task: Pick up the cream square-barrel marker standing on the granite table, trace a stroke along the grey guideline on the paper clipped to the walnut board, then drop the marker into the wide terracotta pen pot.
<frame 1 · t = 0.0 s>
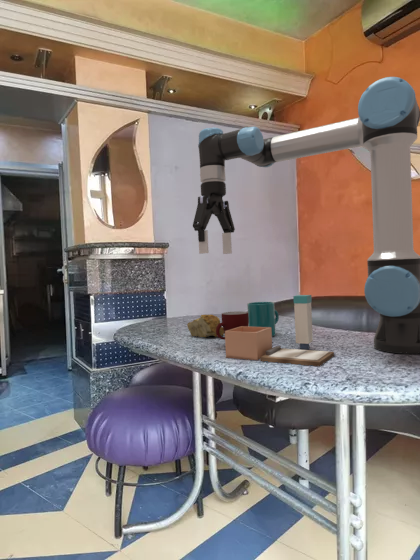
hand: (216, 253, 123), 28 cm above the table, fingers open, 13 cm apart
mug: (233, 347, 122), on the table
marker: (304, 349, 113), on the table
cup: (265, 336, 139), on the table
pen pot: (249, 355, 109), on the table
clipboard: (297, 358, 103), on the table
rock: (207, 336, 144), on the table
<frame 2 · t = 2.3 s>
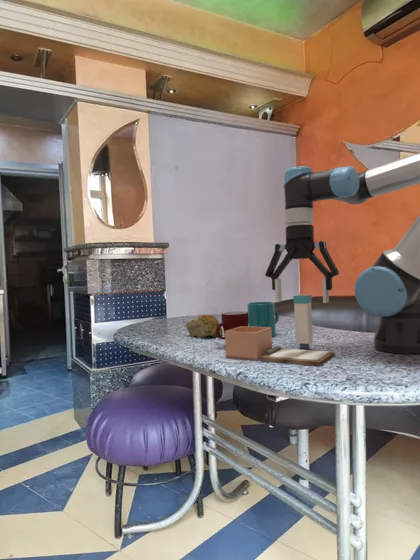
hand: (301, 302, 113), 13 cm above the table, fingers open, 13 cm apart
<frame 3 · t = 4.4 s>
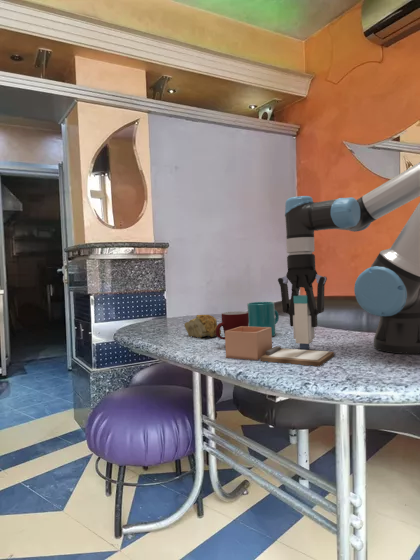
hand: (304, 338, 113), 3 cm above the table, fingers closed on marker, 4 cm apart
marker: (304, 349, 113), on the table, touching gripper
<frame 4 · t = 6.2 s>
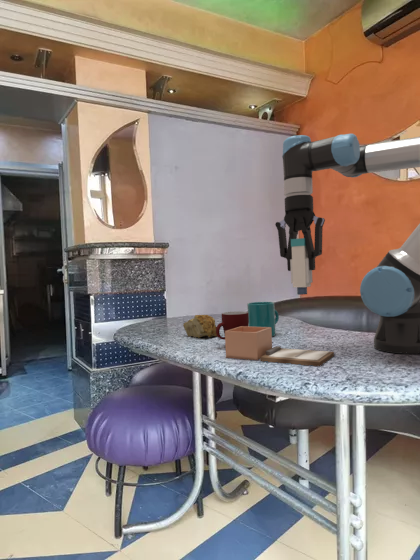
hand: (301, 282, 111), 19 cm above the table, fingers closed on marker, 4 cm apart
marker: (302, 294, 111), point 16 cm above the table, touching gripper
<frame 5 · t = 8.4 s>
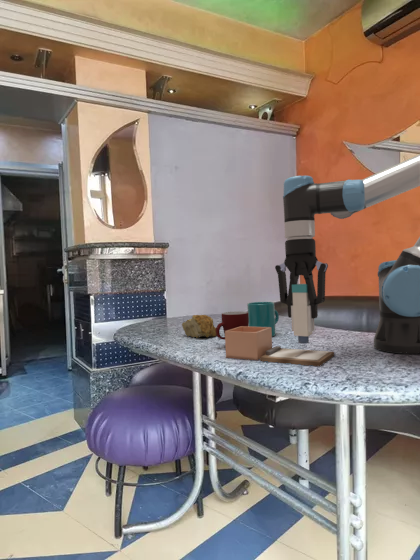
hand: (303, 330, 105), 7 cm above the table, fingers closed on marker, 4 cm apart
marker: (303, 342, 105), point 4 cm above the table, touching gripper
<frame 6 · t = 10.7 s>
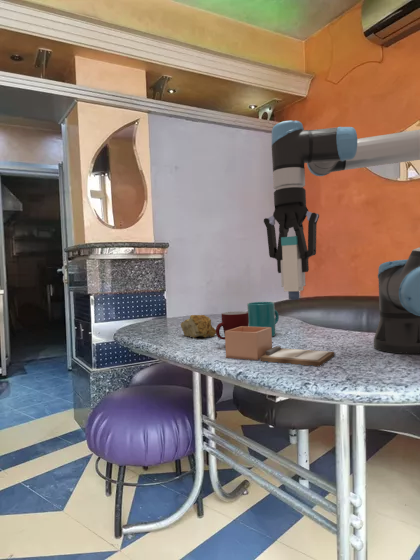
hand: (293, 286, 99), 18 cm above the table, fingers closed on marker, 4 cm apart
marker: (294, 299, 99), point 15 cm above the table, touching gripper
when the fingers open (15 cm above the table, at t = 12.4 s): marker drops 11 cm, resting on pen pot.
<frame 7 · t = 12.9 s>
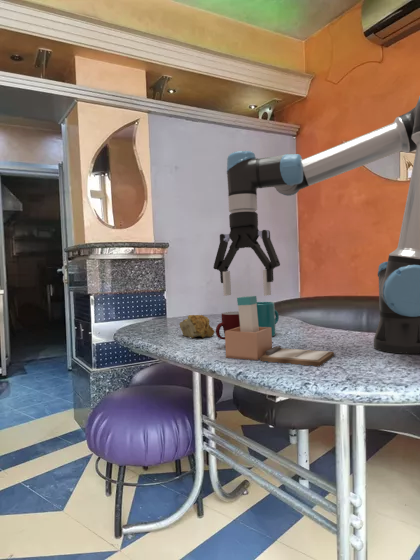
hand: (246, 295, 109), 16 cm above the table, fingers open, 11 cm apart
marker: (251, 353, 109), point 1 cm above the table, touching pen pot
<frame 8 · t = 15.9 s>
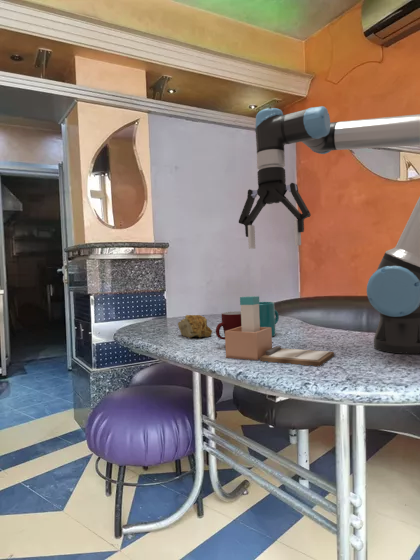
hand: (274, 247, 112), 29 cm above the table, fingers open, 13 cm apart
at the end: marker inside the target area on the pen pot (0.7 cm from its centre), point 0.6 cm above the pen pot's base; the gripper is holding nothing; marker moved 15.8 cm from its start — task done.
